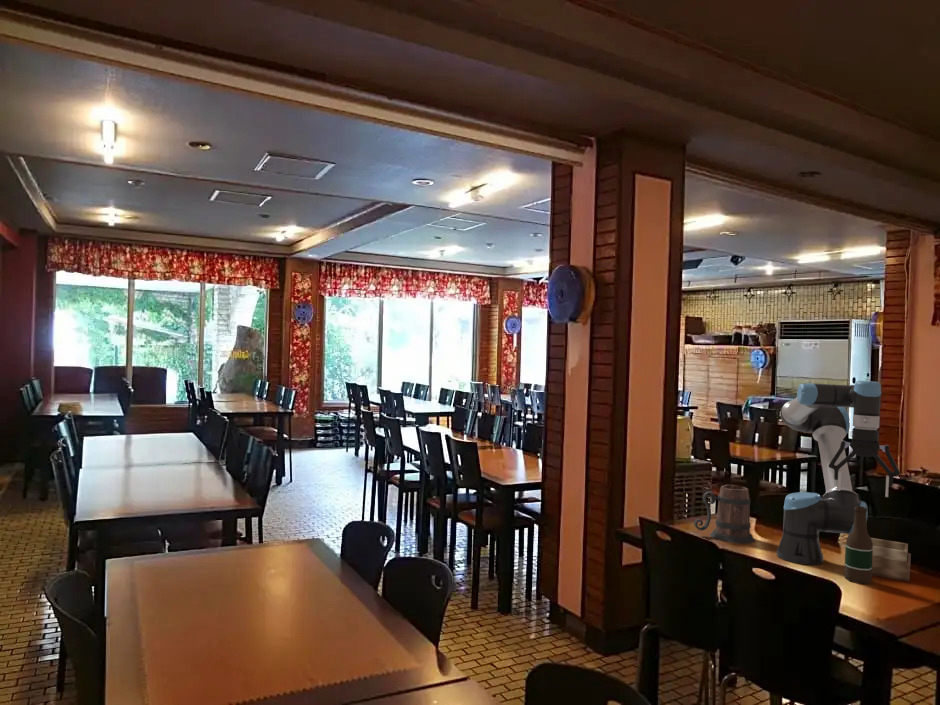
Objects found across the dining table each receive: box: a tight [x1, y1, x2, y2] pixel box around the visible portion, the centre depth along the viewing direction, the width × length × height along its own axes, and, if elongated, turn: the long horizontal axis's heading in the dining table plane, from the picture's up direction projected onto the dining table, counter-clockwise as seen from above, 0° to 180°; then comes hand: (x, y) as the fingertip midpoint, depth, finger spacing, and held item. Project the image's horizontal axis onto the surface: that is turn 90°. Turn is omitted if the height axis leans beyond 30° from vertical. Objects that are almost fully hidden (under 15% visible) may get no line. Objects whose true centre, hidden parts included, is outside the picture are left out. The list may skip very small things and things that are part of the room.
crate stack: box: [870, 537, 912, 583], centre depth 239 cm, size 15×15×9 cm
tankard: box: [693, 484, 756, 544], centre depth 276 cm, size 24×17×20 cm
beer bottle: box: [843, 506, 873, 585], centre depth 228 cm, size 8×8×24 cm
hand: (862, 493), depth 228 cm, fingers open, 13 cm apart
